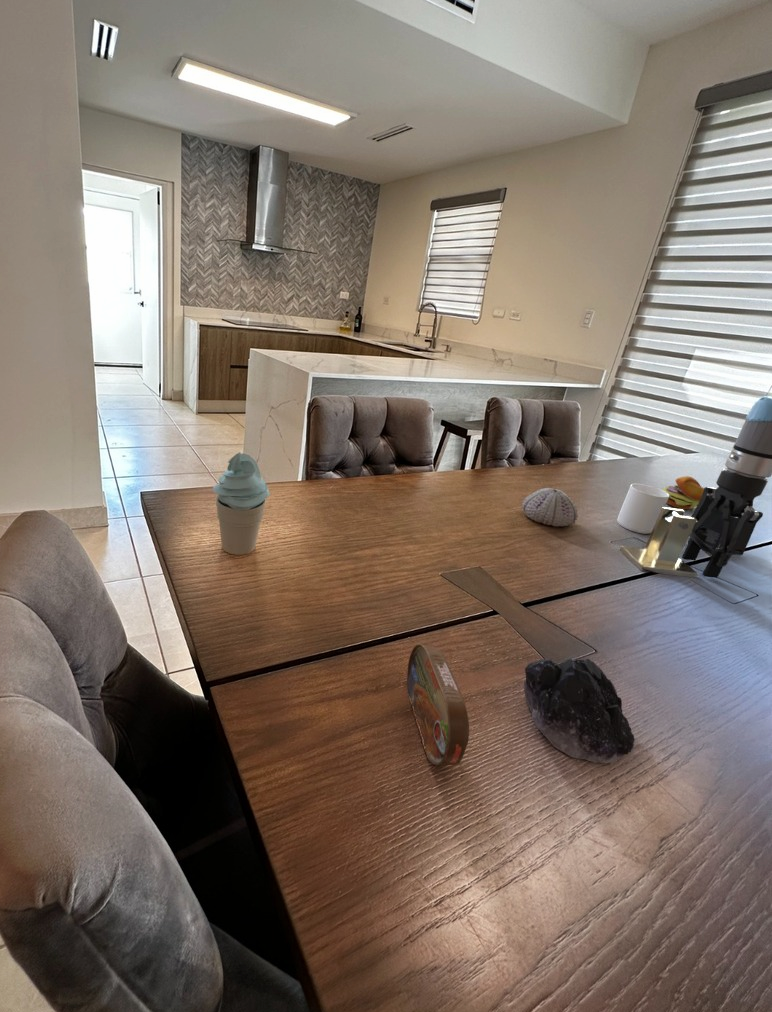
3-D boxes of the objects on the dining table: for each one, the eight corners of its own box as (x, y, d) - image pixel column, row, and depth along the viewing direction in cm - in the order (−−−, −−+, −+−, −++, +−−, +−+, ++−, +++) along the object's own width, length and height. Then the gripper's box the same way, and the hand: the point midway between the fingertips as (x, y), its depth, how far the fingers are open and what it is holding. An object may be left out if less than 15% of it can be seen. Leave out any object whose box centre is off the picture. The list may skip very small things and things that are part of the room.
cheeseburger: (661, 493, 152) (682, 468, 147) (695, 514, 146) (718, 488, 140) (650, 499, 145) (672, 472, 140) (686, 520, 139) (710, 493, 134)
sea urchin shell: (581, 534, 116) (592, 505, 113) (525, 525, 118) (534, 496, 115) (564, 512, 128) (574, 485, 125) (513, 504, 130) (522, 477, 127)
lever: (695, 548, 108) (704, 541, 107) (713, 562, 102) (723, 554, 101) (659, 514, 105) (668, 507, 104) (675, 526, 100) (685, 519, 99)
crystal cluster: (637, 729, 63) (661, 666, 60) (619, 792, 53) (646, 720, 50) (535, 678, 71) (551, 620, 68) (502, 724, 61) (519, 659, 58)
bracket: (670, 556, 110) (693, 507, 106) (696, 578, 102) (722, 526, 97) (619, 550, 111) (639, 500, 106) (640, 570, 102) (664, 518, 97)
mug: (660, 526, 127) (676, 490, 123) (648, 538, 119) (665, 499, 115) (625, 514, 132) (639, 478, 128) (611, 524, 124) (626, 487, 120)
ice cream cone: (274, 542, 96) (281, 449, 88) (243, 567, 86) (248, 465, 79) (232, 528, 99) (236, 437, 92) (198, 550, 90) (200, 451, 82)
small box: (713, 537, 124) (730, 501, 120) (740, 550, 118) (760, 513, 114) (687, 541, 120) (704, 504, 116) (714, 554, 114) (733, 515, 110)
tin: (402, 678, 65) (413, 630, 62) (424, 679, 66) (436, 631, 63) (432, 783, 52) (449, 728, 48) (460, 783, 52) (478, 728, 49)
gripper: (696, 455, 106) (656, 544, 115) (765, 488, 88) (711, 590, 97) (729, 459, 106) (687, 548, 115) (805, 493, 88) (748, 595, 97)
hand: (698, 567), depth 106 cm, fingers open, 6 cm apart
